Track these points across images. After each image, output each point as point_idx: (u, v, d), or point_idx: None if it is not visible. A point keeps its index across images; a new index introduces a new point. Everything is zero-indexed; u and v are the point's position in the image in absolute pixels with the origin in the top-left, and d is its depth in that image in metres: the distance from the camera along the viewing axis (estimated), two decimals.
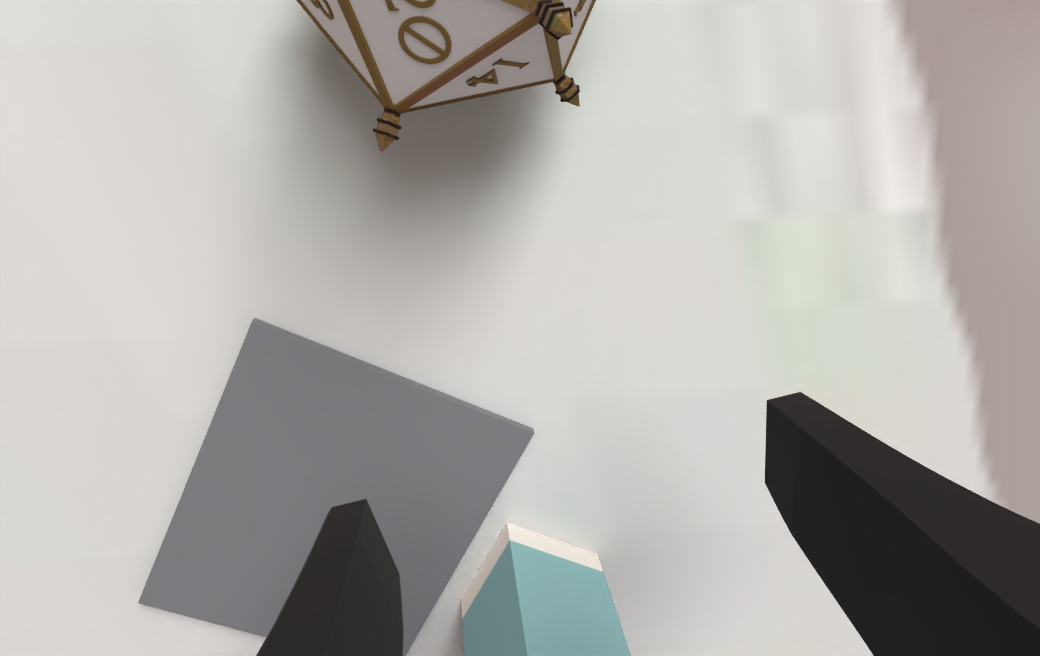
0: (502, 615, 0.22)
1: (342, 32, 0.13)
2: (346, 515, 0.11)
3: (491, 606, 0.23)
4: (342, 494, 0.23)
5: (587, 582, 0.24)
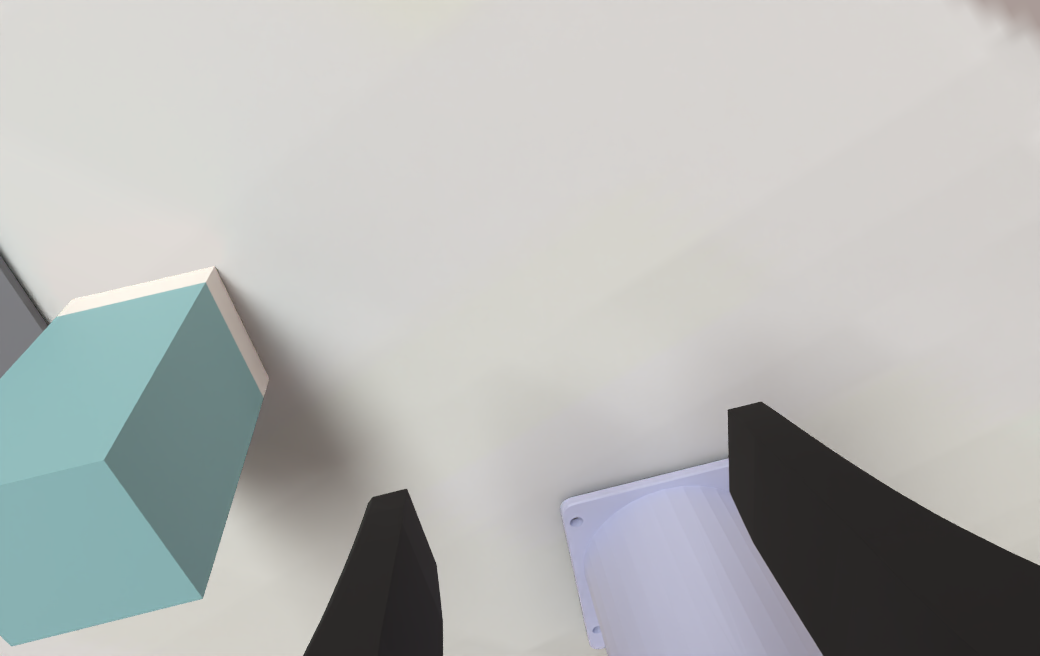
0: None
1: None
2: (387, 505, 0.11)
3: None
4: None
5: (160, 306, 0.17)
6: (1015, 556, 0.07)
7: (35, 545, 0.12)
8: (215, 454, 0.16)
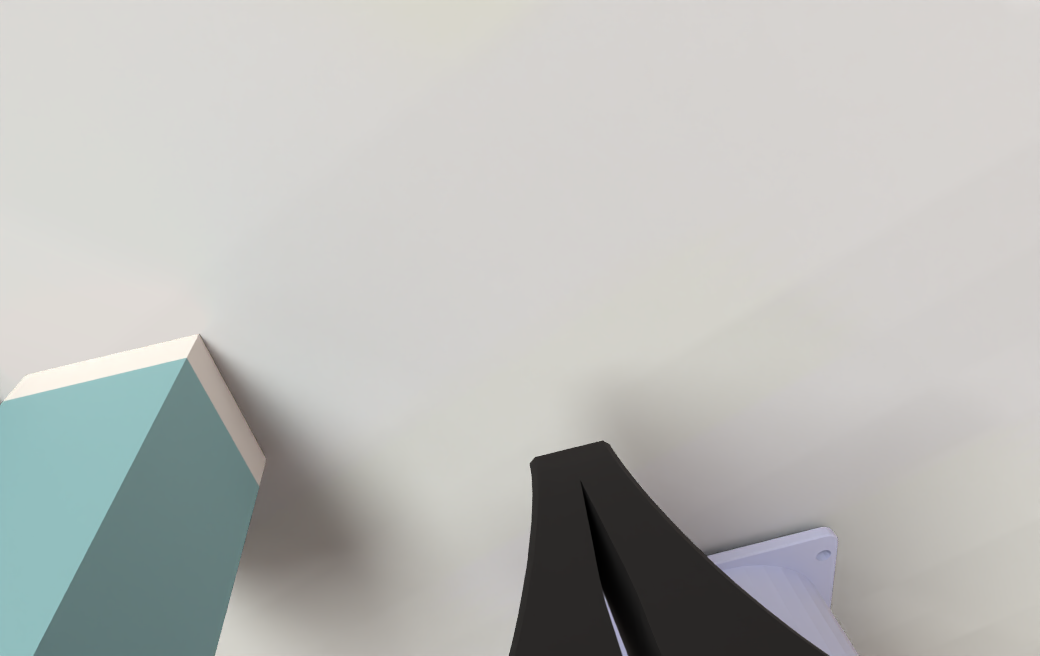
0: None
1: None
2: (556, 463, 0.11)
3: None
4: None
5: (129, 392, 0.13)
6: (770, 619, 0.07)
7: None
8: (196, 585, 0.12)
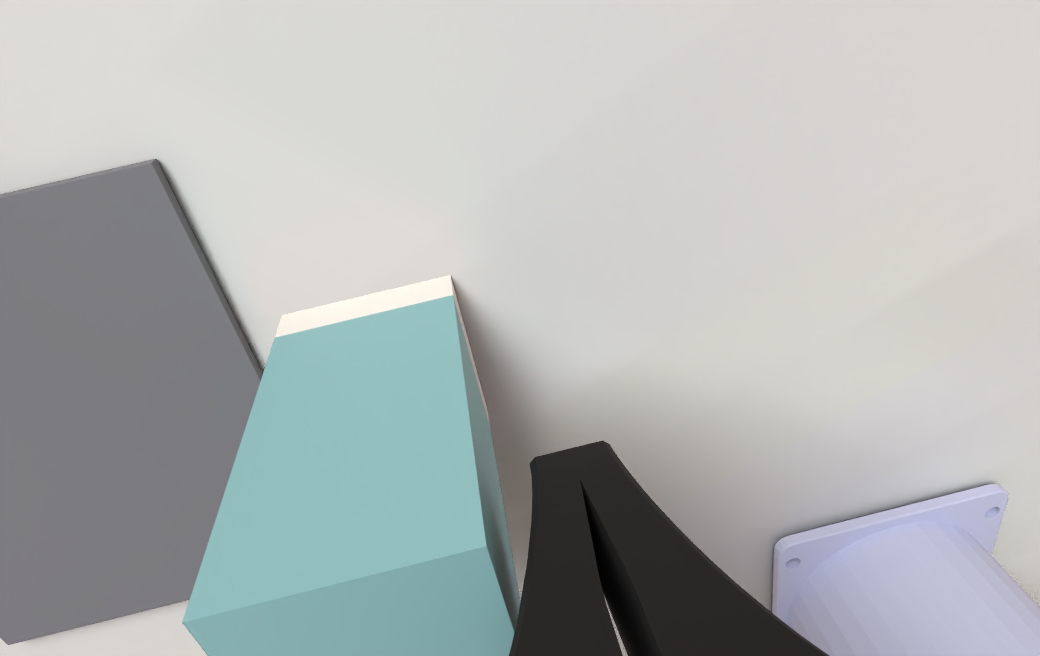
0: None
1: None
2: (556, 463, 0.11)
3: None
4: (35, 417, 0.15)
5: (412, 325, 0.14)
6: (770, 619, 0.07)
7: (365, 653, 0.09)
8: (499, 510, 0.13)
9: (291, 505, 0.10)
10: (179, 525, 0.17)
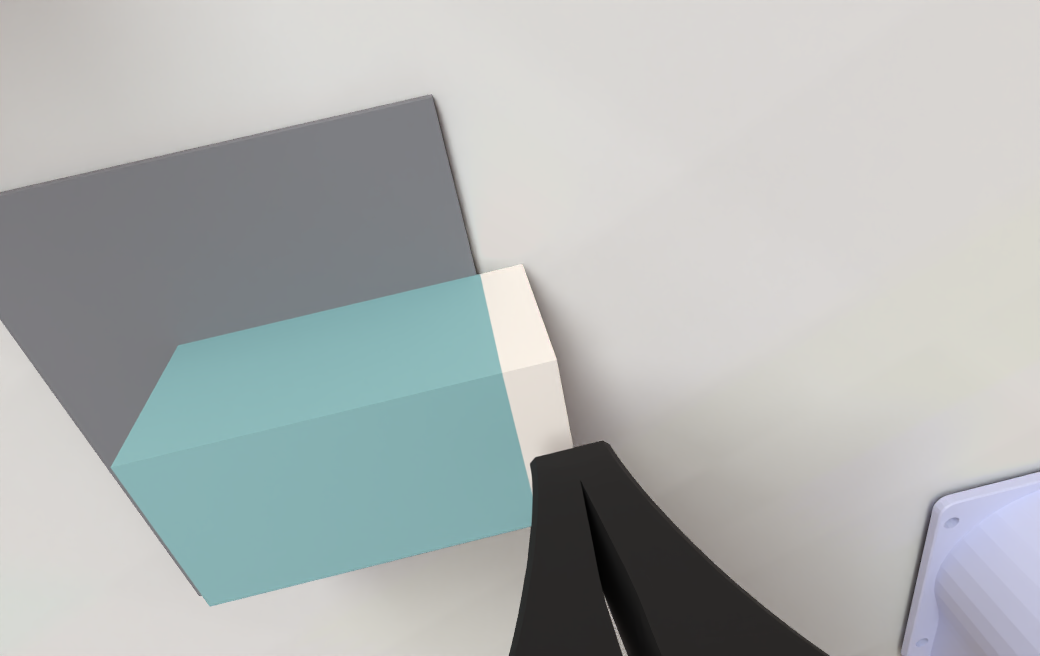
0: None
1: None
2: (556, 463, 0.11)
3: None
4: None
5: (448, 356, 0.12)
6: (770, 619, 0.07)
7: None
8: (341, 530, 0.13)
9: (238, 356, 0.14)
10: None
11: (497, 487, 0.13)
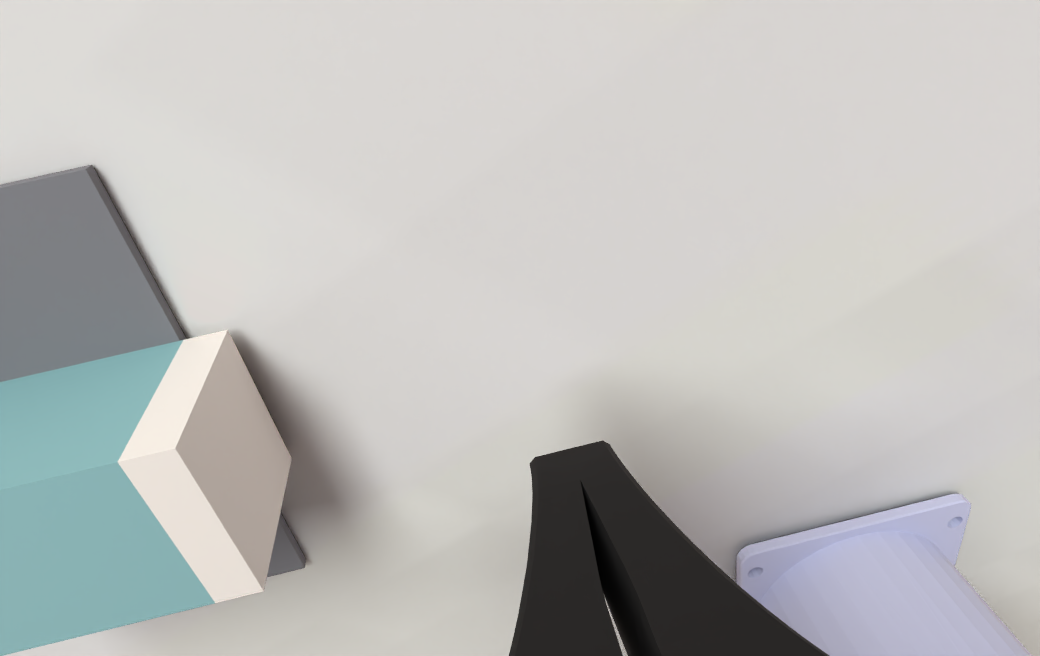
0: None
1: None
2: (556, 463, 0.11)
3: None
4: None
5: (86, 439, 0.12)
6: (770, 619, 0.07)
7: None
8: None
9: None
10: None
11: (154, 569, 0.13)
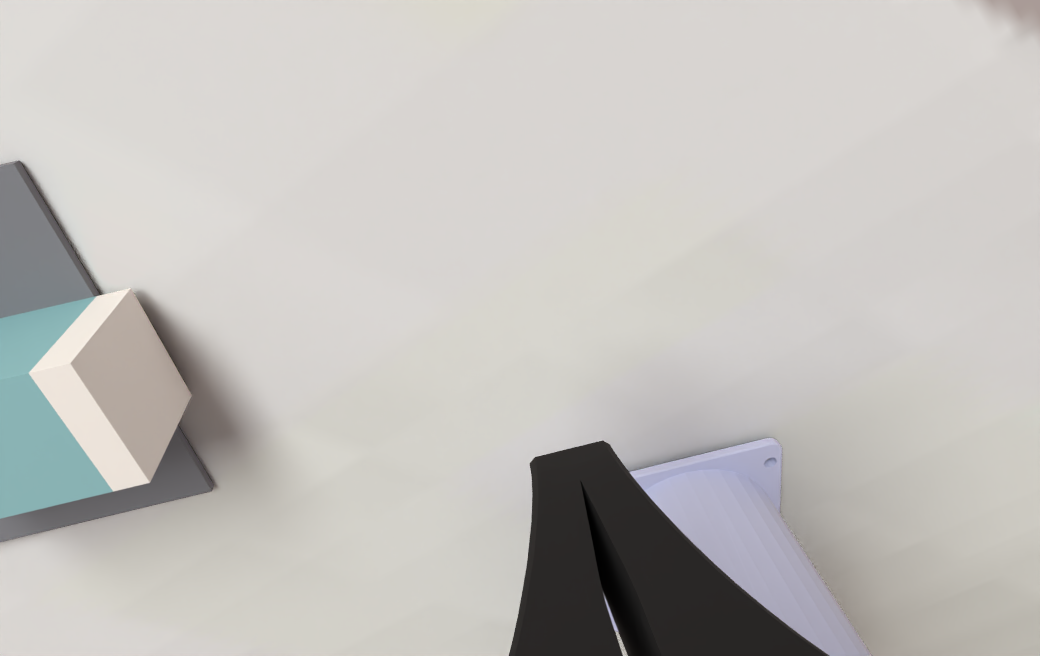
0: None
1: None
2: (556, 463, 0.11)
3: None
4: None
5: (10, 360, 0.16)
6: (770, 619, 0.07)
7: None
8: None
9: None
10: None
11: (63, 461, 0.17)
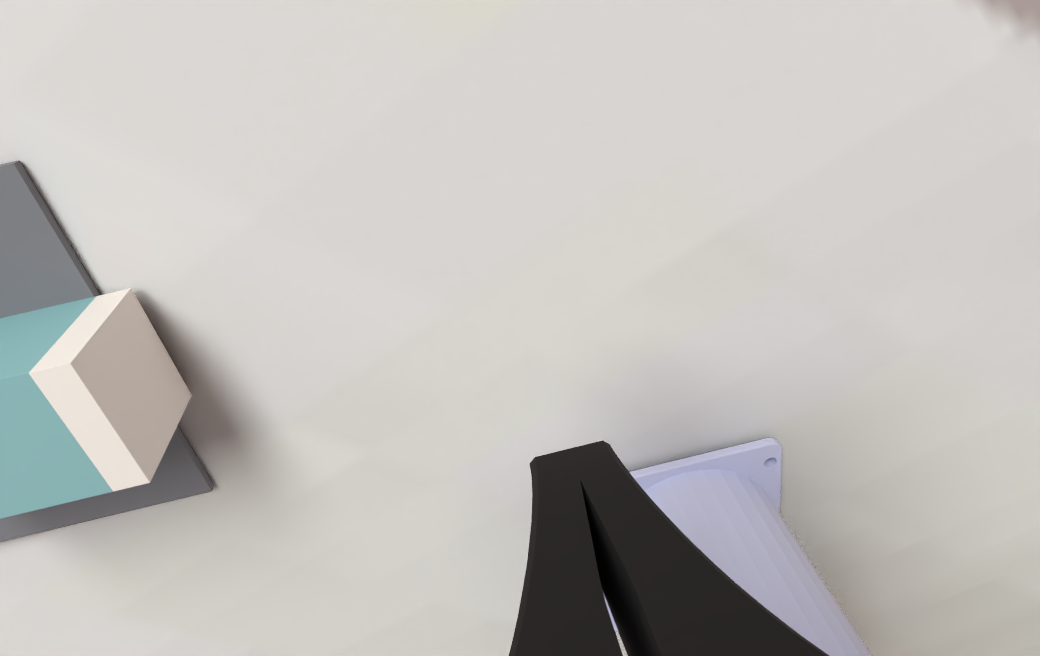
0: None
1: None
2: (556, 463, 0.11)
3: None
4: None
5: (10, 360, 0.16)
6: (770, 619, 0.07)
7: None
8: None
9: None
10: None
11: (63, 461, 0.17)
